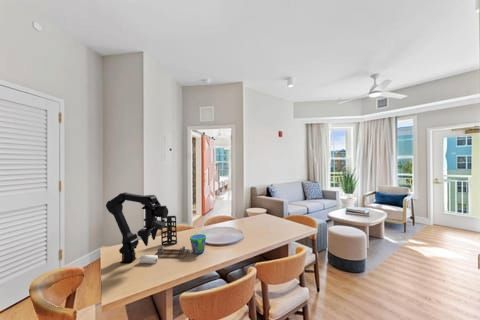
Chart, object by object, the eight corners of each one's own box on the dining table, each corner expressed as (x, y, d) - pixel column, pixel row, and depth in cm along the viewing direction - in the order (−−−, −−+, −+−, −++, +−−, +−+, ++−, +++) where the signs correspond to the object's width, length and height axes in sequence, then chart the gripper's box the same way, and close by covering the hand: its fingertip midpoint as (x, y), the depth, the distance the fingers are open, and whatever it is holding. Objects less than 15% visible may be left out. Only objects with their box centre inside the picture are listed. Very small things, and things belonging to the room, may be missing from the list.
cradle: (152, 257, 134) (152, 251, 134) (160, 250, 145) (160, 244, 145) (183, 258, 133) (183, 251, 133) (189, 250, 144) (189, 244, 144)
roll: (139, 264, 126) (139, 257, 126) (143, 261, 130) (143, 253, 130) (155, 264, 125) (154, 257, 125) (158, 261, 130) (158, 254, 130)
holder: (161, 246, 151) (160, 217, 153) (160, 243, 158) (160, 216, 160) (177, 244, 155) (177, 216, 158) (176, 241, 162) (176, 214, 164)
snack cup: (190, 248, 148) (189, 233, 148) (205, 246, 150) (205, 232, 150) (190, 258, 133) (190, 241, 133) (207, 255, 135) (207, 239, 135)
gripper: (156, 221, 118) (156, 249, 118) (169, 213, 137) (169, 237, 137) (136, 220, 119) (136, 248, 119) (152, 212, 138) (152, 237, 138)
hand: (150, 242), depth 128 cm, fingers open, 9 cm apart
